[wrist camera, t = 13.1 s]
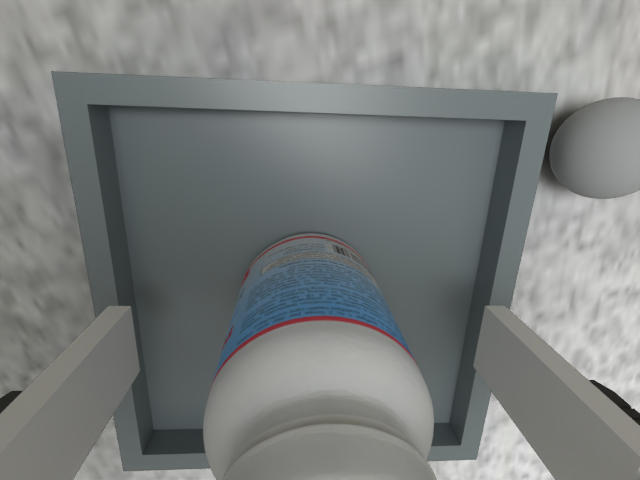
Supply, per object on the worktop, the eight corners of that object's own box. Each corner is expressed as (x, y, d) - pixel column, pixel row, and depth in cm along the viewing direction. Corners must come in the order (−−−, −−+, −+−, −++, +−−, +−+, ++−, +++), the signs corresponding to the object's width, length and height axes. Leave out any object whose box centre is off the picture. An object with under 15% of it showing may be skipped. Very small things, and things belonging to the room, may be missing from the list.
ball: (521, 188, 17) (585, 207, 13) (540, 98, 16) (616, 91, 12) (600, 190, 18) (684, 209, 14) (624, 102, 16) (725, 96, 12)
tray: (143, 430, 20) (123, 471, 18) (90, 79, 15) (51, 71, 12) (456, 422, 22) (476, 459, 19) (518, 97, 16) (557, 93, 14)
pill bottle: (219, 264, 16) (77, 533, 6) (342, 207, 16) (439, 385, 5) (278, 364, 18) (257, 707, 8) (390, 316, 18) (533, 609, 7)
